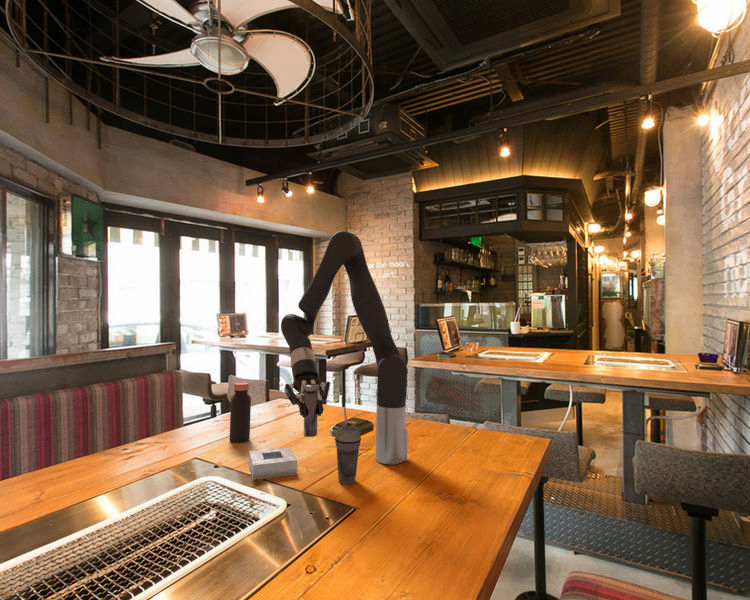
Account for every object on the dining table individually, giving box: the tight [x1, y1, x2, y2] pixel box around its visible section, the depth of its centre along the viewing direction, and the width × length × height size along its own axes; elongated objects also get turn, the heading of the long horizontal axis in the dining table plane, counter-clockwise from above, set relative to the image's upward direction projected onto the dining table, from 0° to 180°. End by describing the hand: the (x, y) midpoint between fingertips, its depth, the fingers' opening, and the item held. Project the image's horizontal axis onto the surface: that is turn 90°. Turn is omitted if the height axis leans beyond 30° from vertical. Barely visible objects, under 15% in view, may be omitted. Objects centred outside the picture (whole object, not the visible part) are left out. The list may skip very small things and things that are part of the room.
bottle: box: [229, 381, 252, 444], centre depth 143 cm, size 7×7×20 cm
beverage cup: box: [334, 407, 362, 486], centre depth 111 cm, size 7×7×20 cm
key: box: [303, 384, 320, 438], centre depth 114 cm, size 4×4×14 cm
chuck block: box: [248, 446, 298, 481], centre depth 118 cm, size 12×12×4 cm
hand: (312, 415), depth 113 cm, fingers closed on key, 3 cm apart
